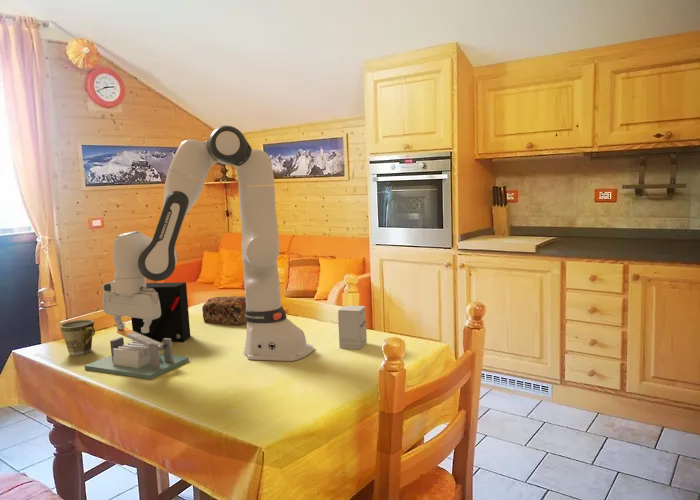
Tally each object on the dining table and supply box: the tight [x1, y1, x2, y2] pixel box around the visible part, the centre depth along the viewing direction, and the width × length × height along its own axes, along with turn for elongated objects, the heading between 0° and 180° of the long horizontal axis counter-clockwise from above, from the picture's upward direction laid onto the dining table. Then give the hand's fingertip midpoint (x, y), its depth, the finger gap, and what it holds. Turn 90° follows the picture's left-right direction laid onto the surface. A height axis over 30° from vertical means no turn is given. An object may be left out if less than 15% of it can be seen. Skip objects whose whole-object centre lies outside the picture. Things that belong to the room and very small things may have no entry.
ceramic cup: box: [60, 319, 96, 356], centre depth 179 cm, size 13×10×10 cm
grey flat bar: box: [116, 327, 167, 351], centre depth 162 cm, size 17×4×1 cm, turn 67°
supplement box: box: [337, 305, 368, 350], centre depth 174 cm, size 7×7×13 cm
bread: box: [201, 295, 247, 326], centre depth 212 cm, size 19×11×10 cm, turn 65°
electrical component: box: [130, 281, 191, 343], centre depth 189 cm, size 18×10×20 cm, turn 84°
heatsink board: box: [84, 336, 190, 380], centre depth 164 cm, size 26×16×8 cm, turn 66°
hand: (132, 330), depth 162 cm, fingers open, 8 cm apart
